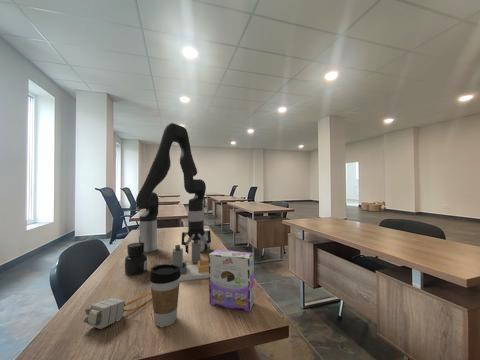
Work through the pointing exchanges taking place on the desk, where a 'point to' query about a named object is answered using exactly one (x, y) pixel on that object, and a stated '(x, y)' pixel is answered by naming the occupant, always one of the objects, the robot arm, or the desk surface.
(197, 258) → the plug
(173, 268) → the coffee cup
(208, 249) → the ink box
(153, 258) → the desk surface
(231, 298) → the candy box
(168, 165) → the robot arm
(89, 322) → the electrical component
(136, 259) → the ink bottle
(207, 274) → the dock
